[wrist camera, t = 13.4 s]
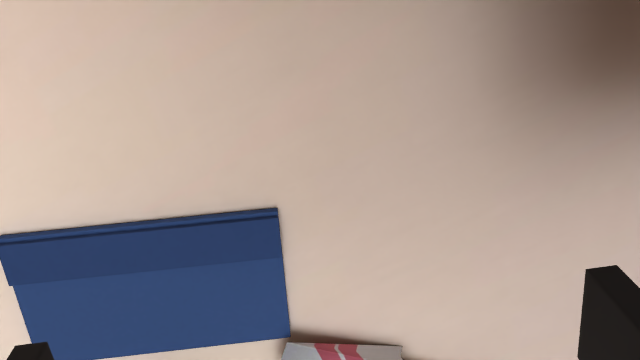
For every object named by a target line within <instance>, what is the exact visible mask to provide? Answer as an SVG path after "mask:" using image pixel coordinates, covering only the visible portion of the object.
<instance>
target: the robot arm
mask: <svg viewBox="0 0 640 360" xmlns="http://www.w3.org/2000/svg"><path fill="white" fill-rule="evenodd" d="M578 359H579V360H640V288H639V287H638V286H637V285H636V284H635V283H634V282H633V281H632V280H631V279H630V278H629V277H628V276H627V275H626V274H625V273H624V272H623V271H622V270H621V269H620V268H619V267H618V266H617V265H614V266H607V267H599V268H592V269H586V273H585V284H584V294H583V305H582V315H581V326H580V336H579V347H578ZM7 360H54V358H53V355H52V353H51V350H50V348H49V345H48V342H40V343H33V344H25V345H18V346H15V347H14V349H13V350H12V352H11V353H10V355H9V357H8V358H7Z"/></svg>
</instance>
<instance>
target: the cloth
mask: <svg viewBox="0 0 640 360" xmlns="http://www.w3.org/2000/svg"><path fill="white" fill-rule="evenodd" d="M0 260H1V263H2V266H3V269H4V272H5V275H6V278H7V281H8V284H9V286H13V288H14V291H15V294H16V297H17V300H18V303H19V306H20V309H21V312H22V315H23V318H24V321H25V324H26V327H27V330H28V333H29V336H30V339H31V342H32V344H33V343H40V342H48V345H49V348H50V350H51V353H52V355H53V358H54V360H95V359H104V358H113V357H122V356H130V355H139V354H148V353H157V352H165V351H174V350H183V349H191V348H200V347H209V346H218V345H226V344H235V343H244V342H253V341H261V340H270V339H279V338H288V337H291V335H290V324H289V315H288V305H287V295H286V286H285V276H284V266H283V257H282V247H281V237H280V228H279V218H278V208H270V209H260V210H250V211H240V212H230V213H220V214H210V215H200V216H190V217H180V218H170V219H160V220H150V221H140V222H130V223H120V224H110V225H100V226H90V227H80V228H70V229H60V230H50V231H40V232H30V233H20V234H10V235H1V236H0Z"/></svg>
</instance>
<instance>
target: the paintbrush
mask: <svg viewBox="0 0 640 360" xmlns="http://www.w3.org/2000/svg"><path fill="white" fill-rule="evenodd" d="M401 351H402V346H380V345H352V344H323V343H295V342H287V344H286V347H285V350H284V352H283V355H282V358H281V360H403V359H402V358H401Z"/></svg>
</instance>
